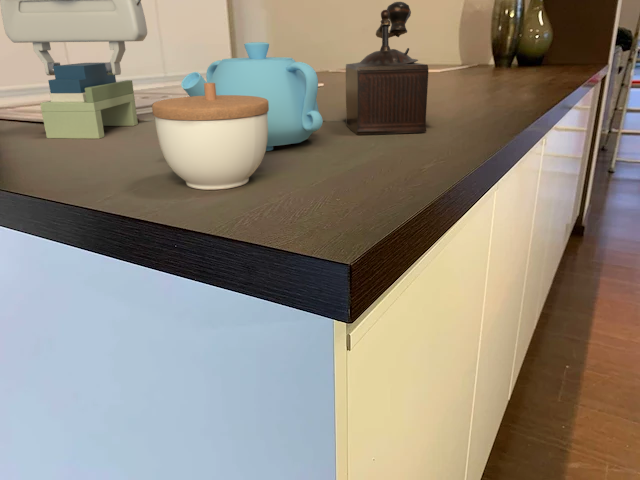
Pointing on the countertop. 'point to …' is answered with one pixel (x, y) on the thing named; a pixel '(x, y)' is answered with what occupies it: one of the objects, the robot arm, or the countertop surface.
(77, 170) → the countertop surface
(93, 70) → the blue block cream base
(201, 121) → the white bowl with lid
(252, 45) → the teapot
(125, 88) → the shoe shelf
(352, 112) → the manual coffee grinder
